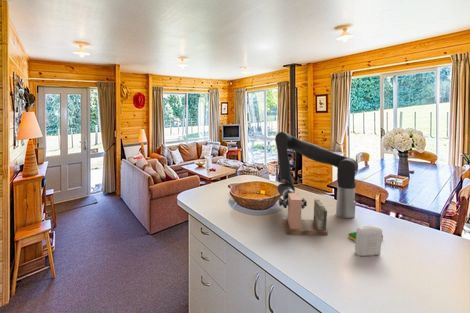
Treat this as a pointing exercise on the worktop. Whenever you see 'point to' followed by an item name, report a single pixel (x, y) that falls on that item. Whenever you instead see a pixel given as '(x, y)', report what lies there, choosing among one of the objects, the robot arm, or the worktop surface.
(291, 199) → the terracotta book
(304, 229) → the shelf ledge
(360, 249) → the photo printer
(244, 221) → the worktop surface
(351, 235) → the dish sponge
